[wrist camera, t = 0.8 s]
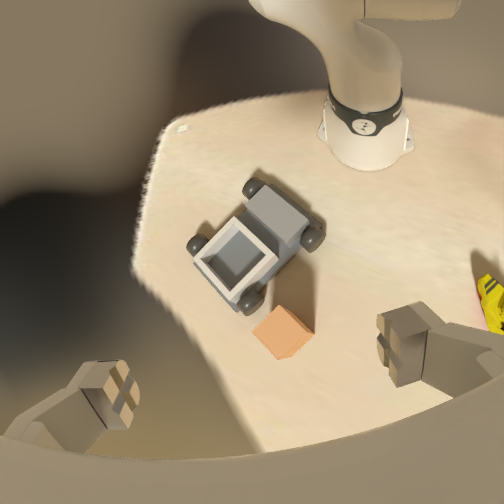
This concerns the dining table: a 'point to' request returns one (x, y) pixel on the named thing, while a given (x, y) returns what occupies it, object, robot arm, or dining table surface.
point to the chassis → (255, 245)
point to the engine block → (282, 333)
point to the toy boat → (492, 302)
